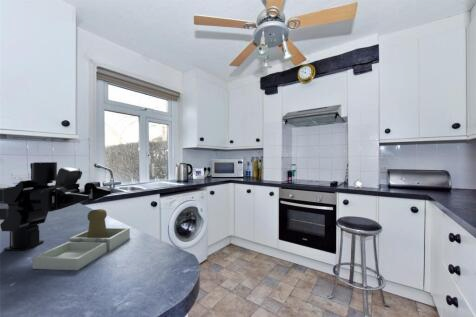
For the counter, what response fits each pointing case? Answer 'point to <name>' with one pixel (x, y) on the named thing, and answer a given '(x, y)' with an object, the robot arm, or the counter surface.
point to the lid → (70, 256)
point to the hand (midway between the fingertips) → (100, 194)
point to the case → (113, 238)
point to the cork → (97, 224)
